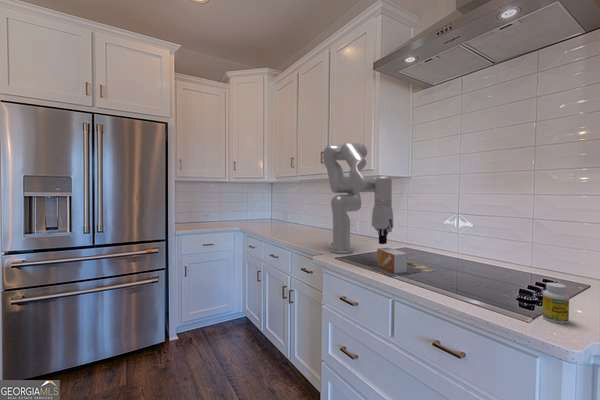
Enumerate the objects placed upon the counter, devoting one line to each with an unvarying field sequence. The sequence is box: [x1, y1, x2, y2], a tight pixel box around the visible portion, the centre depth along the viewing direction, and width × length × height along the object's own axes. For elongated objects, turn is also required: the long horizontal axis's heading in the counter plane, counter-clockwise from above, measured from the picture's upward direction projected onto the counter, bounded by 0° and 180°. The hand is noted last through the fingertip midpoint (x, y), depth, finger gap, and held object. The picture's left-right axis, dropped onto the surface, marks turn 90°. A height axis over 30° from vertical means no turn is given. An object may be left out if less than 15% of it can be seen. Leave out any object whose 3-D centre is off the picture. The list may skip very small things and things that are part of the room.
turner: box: [407, 260, 436, 273], centre depth 132 cm, size 17×5×1 cm, turn 23°
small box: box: [376, 247, 408, 273], centre depth 127 cm, size 8×6×13 cm
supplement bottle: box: [542, 282, 570, 325], centre depth 79 cm, size 5×5×10 cm
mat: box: [369, 266, 422, 278], centre depth 127 cm, size 14×16×1 cm
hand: (382, 243), depth 134 cm, fingers closed
